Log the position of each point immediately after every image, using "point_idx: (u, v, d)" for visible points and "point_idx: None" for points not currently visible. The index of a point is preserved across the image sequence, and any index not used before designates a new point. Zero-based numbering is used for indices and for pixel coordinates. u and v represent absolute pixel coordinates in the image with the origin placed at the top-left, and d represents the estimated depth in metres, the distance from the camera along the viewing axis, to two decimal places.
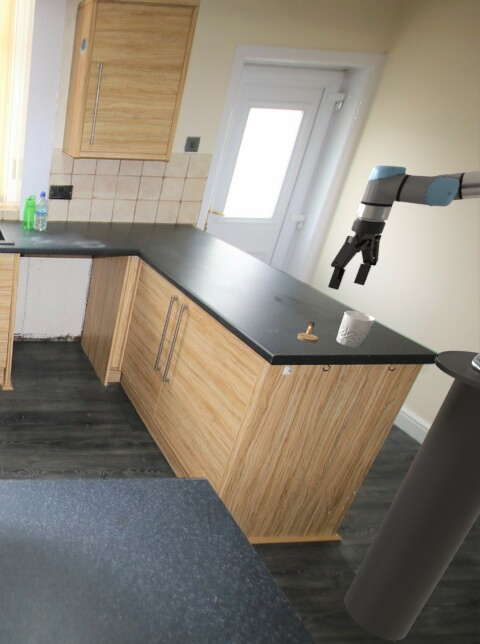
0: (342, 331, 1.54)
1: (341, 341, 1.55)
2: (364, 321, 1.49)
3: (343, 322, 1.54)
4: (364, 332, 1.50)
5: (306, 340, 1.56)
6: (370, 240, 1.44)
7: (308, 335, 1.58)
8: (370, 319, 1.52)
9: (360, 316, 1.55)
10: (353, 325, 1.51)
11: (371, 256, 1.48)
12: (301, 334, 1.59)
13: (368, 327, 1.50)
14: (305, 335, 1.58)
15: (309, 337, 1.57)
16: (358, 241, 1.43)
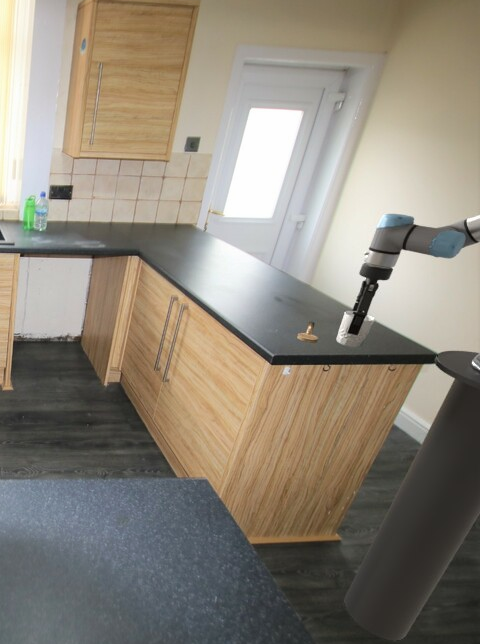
0: (342, 331, 1.54)
1: (341, 341, 1.55)
2: (364, 321, 1.49)
3: (343, 322, 1.54)
4: (364, 332, 1.50)
5: (306, 340, 1.56)
6: (376, 284, 1.48)
7: (308, 335, 1.58)
8: (370, 319, 1.52)
9: None
10: None
11: None
12: (301, 334, 1.59)
13: (368, 327, 1.50)
14: (305, 335, 1.58)
15: (309, 337, 1.57)
16: None
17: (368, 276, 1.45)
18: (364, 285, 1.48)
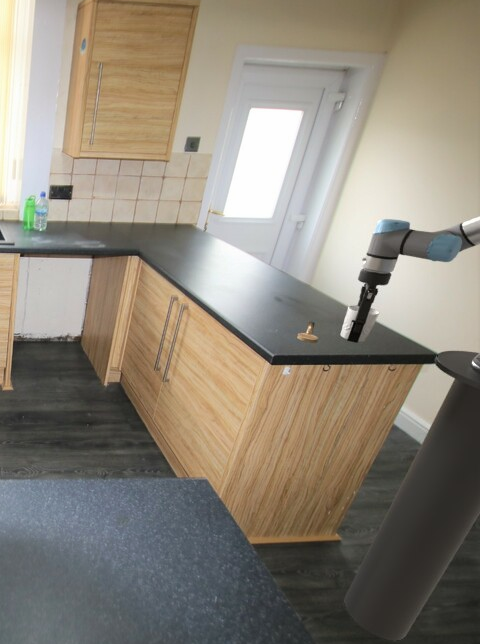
0: (346, 326, 1.53)
1: (345, 336, 1.54)
2: (368, 315, 1.48)
3: (347, 317, 1.53)
4: (368, 326, 1.49)
5: (306, 340, 1.56)
6: (376, 289, 1.48)
7: (308, 335, 1.58)
8: (374, 313, 1.51)
9: None
10: None
11: None
12: (301, 334, 1.59)
13: (372, 321, 1.49)
14: (305, 335, 1.58)
15: (309, 337, 1.57)
16: (373, 293, 1.45)
17: (367, 281, 1.46)
18: (363, 291, 1.48)
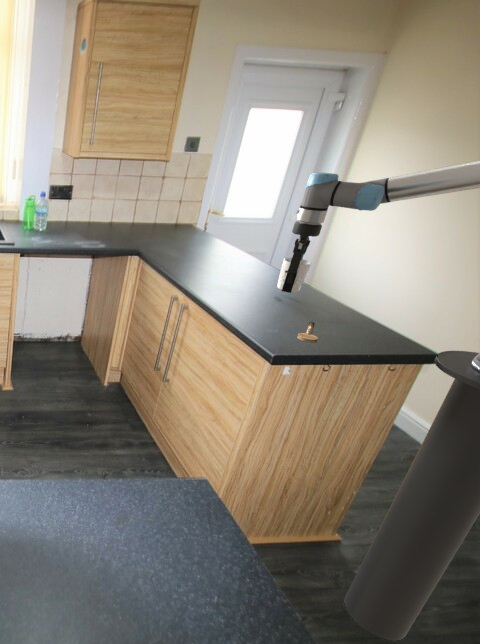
0: (281, 277, 1.60)
1: (280, 287, 1.61)
2: (300, 265, 1.55)
3: (282, 268, 1.60)
4: (301, 277, 1.57)
5: (306, 340, 1.56)
6: (308, 241, 1.55)
7: (308, 335, 1.58)
8: (307, 264, 1.58)
9: None
10: None
11: (302, 258, 1.60)
12: (301, 334, 1.59)
13: (304, 271, 1.56)
14: (305, 335, 1.58)
15: (309, 337, 1.57)
16: (304, 243, 1.52)
17: (299, 233, 1.53)
18: (296, 243, 1.55)
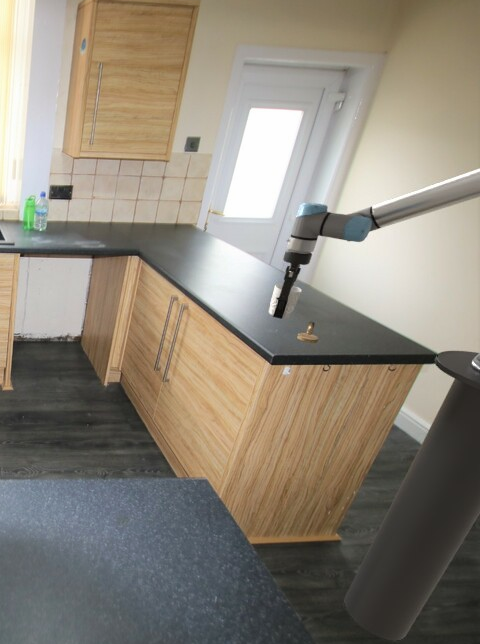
0: (273, 303, 1.64)
1: (272, 312, 1.65)
2: (291, 292, 1.59)
3: (273, 294, 1.64)
4: (291, 303, 1.60)
5: (306, 340, 1.56)
6: (299, 268, 1.59)
7: (308, 335, 1.58)
8: (298, 291, 1.62)
9: None
10: None
11: None
12: (301, 334, 1.59)
13: (295, 298, 1.60)
14: (305, 335, 1.58)
15: (309, 337, 1.57)
16: (295, 272, 1.56)
17: (290, 261, 1.57)
18: (287, 270, 1.59)
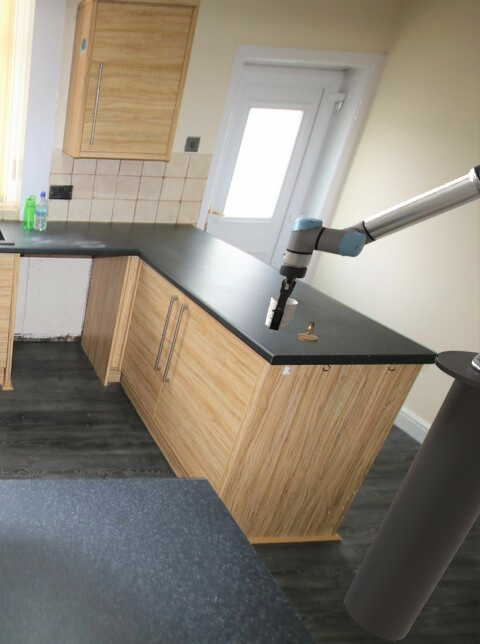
0: (269, 315, 1.66)
1: (268, 324, 1.67)
2: (287, 305, 1.60)
3: (270, 306, 1.65)
4: (288, 315, 1.62)
5: (306, 340, 1.56)
6: (295, 282, 1.61)
7: (308, 335, 1.58)
8: (294, 303, 1.64)
9: None
10: (278, 308, 1.62)
11: (289, 296, 1.66)
12: (301, 334, 1.59)
13: (291, 310, 1.61)
14: (305, 335, 1.58)
15: (309, 337, 1.57)
16: None
17: (285, 275, 1.58)
18: (283, 283, 1.61)
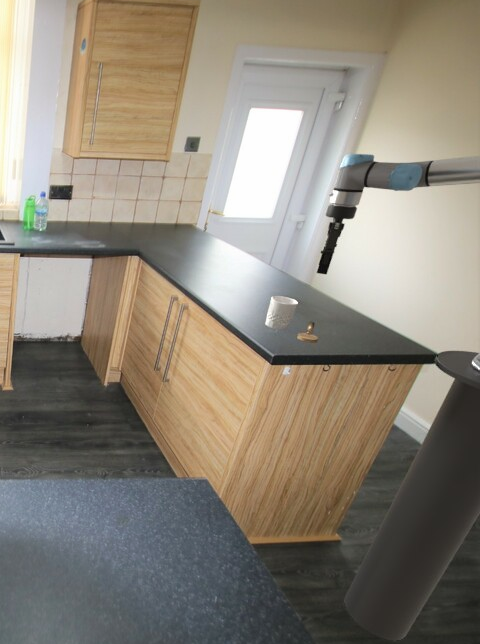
0: (269, 315, 1.66)
1: (268, 324, 1.67)
2: (287, 305, 1.60)
3: (270, 306, 1.65)
4: (288, 315, 1.62)
5: (306, 340, 1.56)
6: (342, 224, 1.53)
7: (308, 335, 1.58)
8: (294, 303, 1.64)
9: (286, 301, 1.66)
10: (278, 308, 1.62)
11: None
12: (301, 334, 1.59)
13: (291, 310, 1.61)
14: (305, 335, 1.58)
15: (309, 337, 1.57)
16: None
17: (334, 216, 1.50)
18: (330, 225, 1.52)
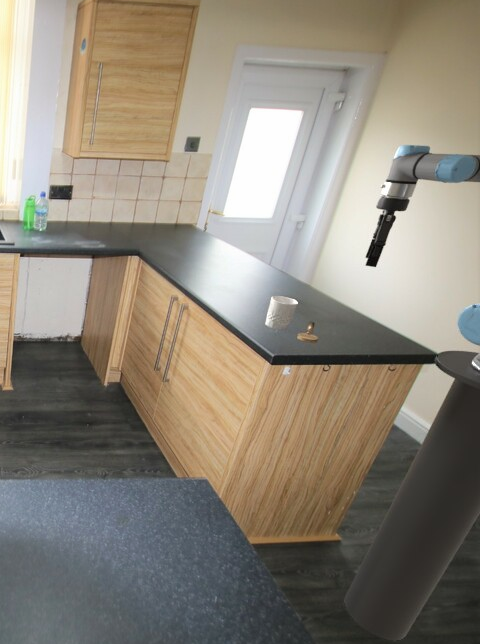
0: (269, 315, 1.66)
1: (268, 324, 1.67)
2: (287, 305, 1.60)
3: (270, 306, 1.65)
4: (288, 315, 1.62)
5: (306, 340, 1.56)
6: None
7: (308, 335, 1.58)
8: (294, 303, 1.64)
9: (286, 301, 1.66)
10: (278, 308, 1.62)
11: None
12: (301, 334, 1.59)
13: (291, 310, 1.61)
14: (305, 335, 1.58)
15: (309, 337, 1.57)
16: None
17: (385, 208, 1.49)
18: (381, 217, 1.51)
